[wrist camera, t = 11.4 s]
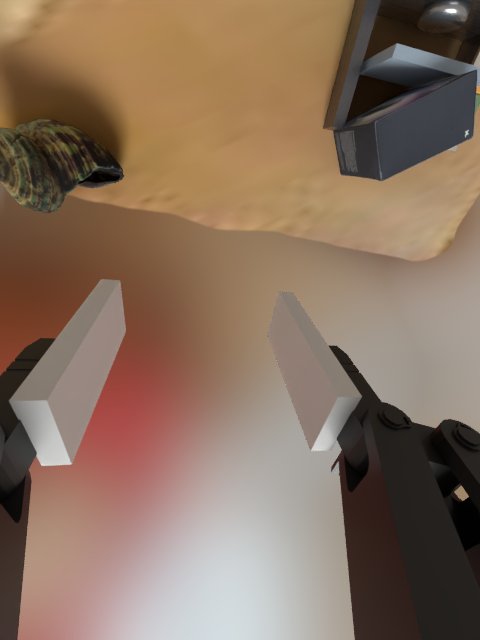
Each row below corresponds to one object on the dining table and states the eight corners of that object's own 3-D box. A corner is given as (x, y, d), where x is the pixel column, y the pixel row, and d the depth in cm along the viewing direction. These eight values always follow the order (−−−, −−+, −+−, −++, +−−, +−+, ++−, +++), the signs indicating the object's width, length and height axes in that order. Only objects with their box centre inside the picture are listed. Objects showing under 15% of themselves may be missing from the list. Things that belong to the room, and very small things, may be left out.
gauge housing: (381, -101, 25) (436, -177, 19) (525, -42, 28) (609, -92, 22) (323, 128, 34) (348, 123, 29) (436, 151, 38) (479, 151, 32)
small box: (408, 85, 33) (483, 62, 24) (410, 141, 37) (476, 139, 28) (331, 126, 34) (375, 118, 26) (340, 177, 38) (382, 184, 29)
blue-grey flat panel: (361, 62, 30) (396, 43, 25) (468, 91, 33) (521, 79, 28) (358, 73, 31) (392, 57, 25) (464, 101, 34) (515, 91, 28)
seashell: (99, 229, 37) (70, 251, 29) (9, 172, 32) (-56, 179, 24) (134, 164, 34) (113, 169, 25) (39, 88, 29) (-26, 63, 20)
